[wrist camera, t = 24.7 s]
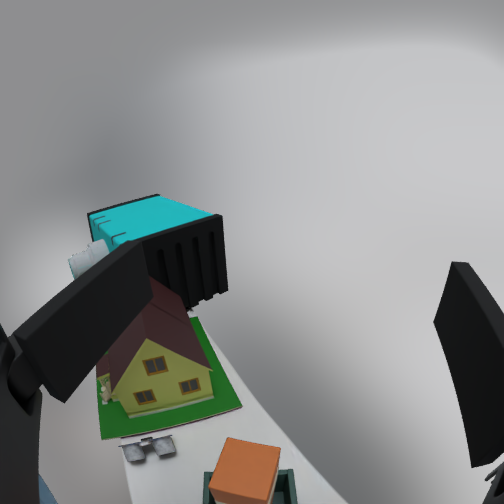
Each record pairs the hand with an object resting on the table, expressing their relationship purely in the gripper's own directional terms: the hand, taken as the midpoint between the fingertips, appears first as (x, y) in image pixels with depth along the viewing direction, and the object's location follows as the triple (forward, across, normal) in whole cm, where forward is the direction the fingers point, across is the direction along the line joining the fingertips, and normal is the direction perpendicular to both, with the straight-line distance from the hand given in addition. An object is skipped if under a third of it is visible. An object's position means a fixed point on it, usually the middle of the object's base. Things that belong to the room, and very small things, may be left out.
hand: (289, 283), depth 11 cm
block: (-3, -2, -25) cm, 26 cm away
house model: (+13, -20, -25) cm, 35 cm away
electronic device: (+31, -33, -25) cm, 51 cm away
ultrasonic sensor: (+2, -15, -26) cm, 30 cm away
